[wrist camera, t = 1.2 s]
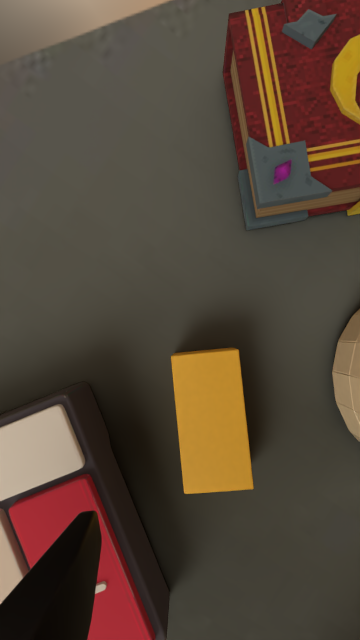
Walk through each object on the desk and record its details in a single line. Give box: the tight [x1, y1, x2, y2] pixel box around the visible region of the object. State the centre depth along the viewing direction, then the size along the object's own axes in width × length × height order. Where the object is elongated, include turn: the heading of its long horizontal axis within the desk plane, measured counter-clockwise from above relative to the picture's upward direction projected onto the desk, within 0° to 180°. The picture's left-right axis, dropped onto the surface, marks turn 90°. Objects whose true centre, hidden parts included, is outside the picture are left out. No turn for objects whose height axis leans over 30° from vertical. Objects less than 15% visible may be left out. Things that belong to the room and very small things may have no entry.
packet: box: [171, 348, 254, 494], centre depth 19 cm, size 8×4×2 cm, turn 6°
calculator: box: [0, 382, 170, 640], centre depth 18 cm, size 11×4×15 cm
